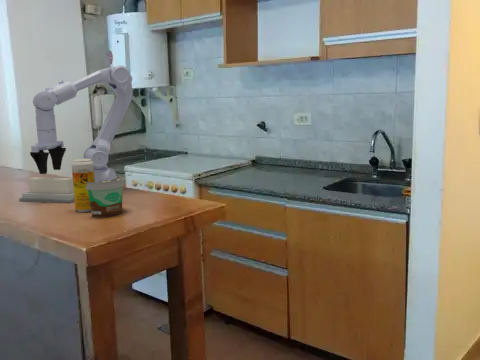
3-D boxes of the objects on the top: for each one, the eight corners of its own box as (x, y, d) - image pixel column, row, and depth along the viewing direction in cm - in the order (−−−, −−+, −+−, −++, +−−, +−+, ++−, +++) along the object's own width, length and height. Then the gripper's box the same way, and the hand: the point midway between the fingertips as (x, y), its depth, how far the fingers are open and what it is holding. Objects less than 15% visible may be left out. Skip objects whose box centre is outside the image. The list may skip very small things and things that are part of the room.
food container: (103, 220, 134) (100, 184, 132) (88, 217, 137) (85, 182, 135) (135, 210, 144) (133, 176, 142) (120, 208, 148) (118, 175, 146)
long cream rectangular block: (74, 196, 161) (72, 178, 160) (69, 198, 158) (67, 180, 157) (36, 195, 164) (34, 177, 163) (30, 196, 162) (28, 178, 160)
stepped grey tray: (85, 196, 164) (84, 190, 163) (70, 203, 155) (69, 196, 155) (36, 195, 168) (35, 188, 168) (19, 201, 159) (18, 194, 159)
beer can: (77, 213, 142) (73, 162, 139) (73, 209, 147) (69, 159, 144) (98, 210, 145) (95, 160, 142) (94, 206, 150) (90, 157, 147)
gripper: (48, 127, 165) (52, 167, 168) (20, 131, 151) (25, 175, 154) (67, 127, 164) (71, 168, 166) (41, 131, 150) (45, 175, 152)
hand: (50, 171), depth 160 cm, fingers open, 7 cm apart
